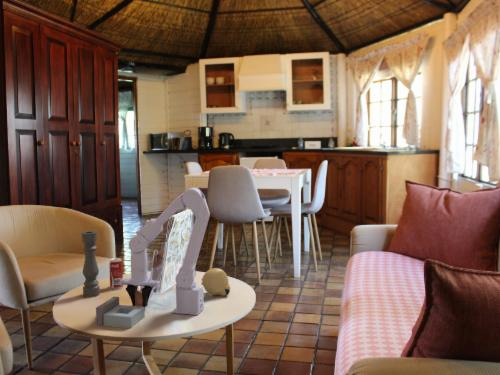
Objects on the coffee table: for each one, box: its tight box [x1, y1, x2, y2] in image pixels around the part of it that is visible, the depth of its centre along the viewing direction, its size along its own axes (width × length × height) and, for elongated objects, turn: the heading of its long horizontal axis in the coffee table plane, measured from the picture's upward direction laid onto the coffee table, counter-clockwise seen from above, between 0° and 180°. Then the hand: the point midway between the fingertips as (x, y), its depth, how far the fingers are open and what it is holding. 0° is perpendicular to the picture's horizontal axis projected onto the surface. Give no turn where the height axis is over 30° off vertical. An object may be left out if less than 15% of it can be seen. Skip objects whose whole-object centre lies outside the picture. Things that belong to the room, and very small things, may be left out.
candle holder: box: [81, 230, 101, 298], centre depth 193 cm, size 6×6×25 cm
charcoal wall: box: [95, 296, 120, 327], centre depth 167 cm, size 2×12×6 cm, turn 167°
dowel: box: [135, 290, 143, 307], centre depth 175 cm, size 4×4×7 cm
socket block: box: [103, 304, 146, 329], centre depth 165 cm, size 10×10×4 cm
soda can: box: [108, 257, 124, 290], centre depth 203 cm, size 5×5×12 cm
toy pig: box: [200, 267, 231, 297], centre depth 194 cm, size 10×12×11 cm
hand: (140, 305), depth 175 cm, fingers closed on dowel, 3 cm apart
